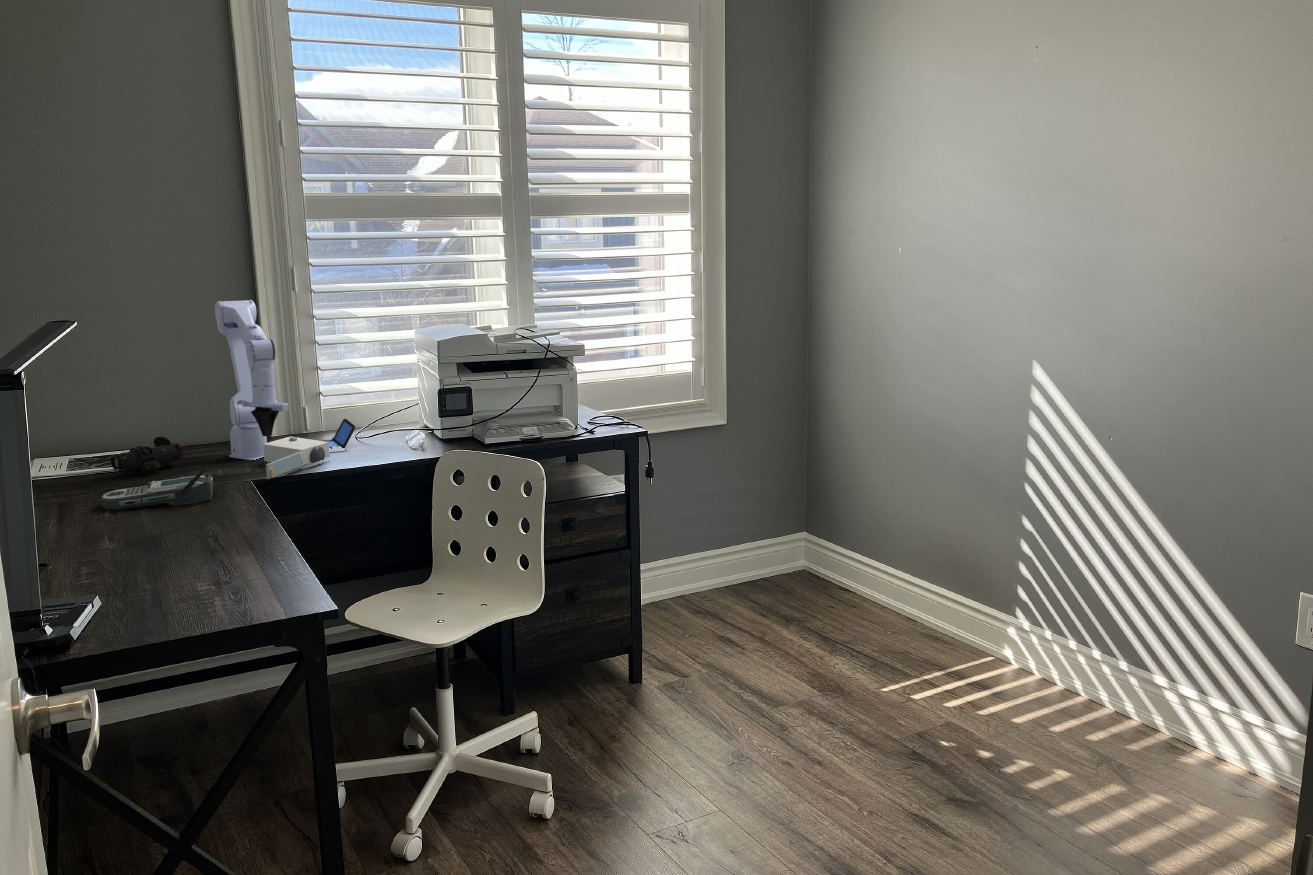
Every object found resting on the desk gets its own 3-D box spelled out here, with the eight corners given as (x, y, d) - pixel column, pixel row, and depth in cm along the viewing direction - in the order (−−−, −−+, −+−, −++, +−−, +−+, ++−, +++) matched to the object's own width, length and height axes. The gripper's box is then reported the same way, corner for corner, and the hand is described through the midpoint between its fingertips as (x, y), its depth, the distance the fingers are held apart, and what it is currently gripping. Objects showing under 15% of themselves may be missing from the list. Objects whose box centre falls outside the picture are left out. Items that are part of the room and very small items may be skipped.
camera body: (264, 463, 269) (262, 441, 268) (291, 455, 278) (290, 434, 277) (305, 470, 263) (304, 448, 262) (332, 461, 272) (330, 440, 271)
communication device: (106, 501, 236) (101, 465, 234) (214, 491, 244) (210, 456, 242) (98, 515, 225) (94, 478, 223) (212, 504, 234) (208, 468, 231)
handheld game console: (309, 445, 291) (307, 421, 289) (346, 441, 296) (345, 417, 294) (319, 454, 280) (317, 429, 278) (357, 450, 286) (356, 425, 284)
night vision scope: (117, 488, 253) (100, 459, 256) (183, 474, 267) (166, 447, 270) (125, 468, 249) (108, 439, 252) (192, 456, 263) (175, 428, 266)
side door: (300, 467, 263) (299, 451, 262) (305, 468, 263) (304, 452, 262) (266, 481, 250) (265, 464, 249) (271, 481, 250) (270, 464, 249)
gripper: (230, 385, 257) (235, 435, 261) (272, 390, 252) (276, 441, 255) (251, 380, 264) (255, 430, 267) (292, 385, 258) (296, 436, 261)
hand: (267, 435), depth 261 cm, fingers closed
